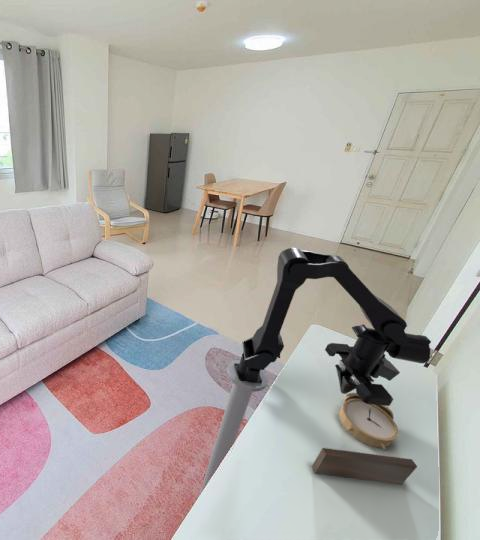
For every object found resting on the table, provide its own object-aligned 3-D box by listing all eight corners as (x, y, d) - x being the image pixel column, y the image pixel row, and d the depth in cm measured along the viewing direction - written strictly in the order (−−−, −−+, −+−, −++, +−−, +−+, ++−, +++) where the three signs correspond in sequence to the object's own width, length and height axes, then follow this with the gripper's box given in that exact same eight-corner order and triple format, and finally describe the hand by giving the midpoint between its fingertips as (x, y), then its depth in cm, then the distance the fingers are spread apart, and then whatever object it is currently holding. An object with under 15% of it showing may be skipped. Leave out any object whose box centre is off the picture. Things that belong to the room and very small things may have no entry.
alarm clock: (340, 422, 73) (348, 379, 82) (333, 432, 76) (342, 389, 85) (398, 451, 67) (400, 401, 76) (388, 461, 70) (391, 411, 79)
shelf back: (311, 466, 66) (322, 447, 63) (396, 477, 65) (412, 459, 62) (314, 473, 65) (325, 454, 62) (401, 484, 63) (417, 466, 60)
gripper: (432, 384, 65) (398, 427, 73) (376, 329, 82) (353, 370, 89) (379, 379, 66) (351, 422, 73) (334, 326, 82) (315, 366, 90)
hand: (343, 393), depth 81 cm, fingers closed
